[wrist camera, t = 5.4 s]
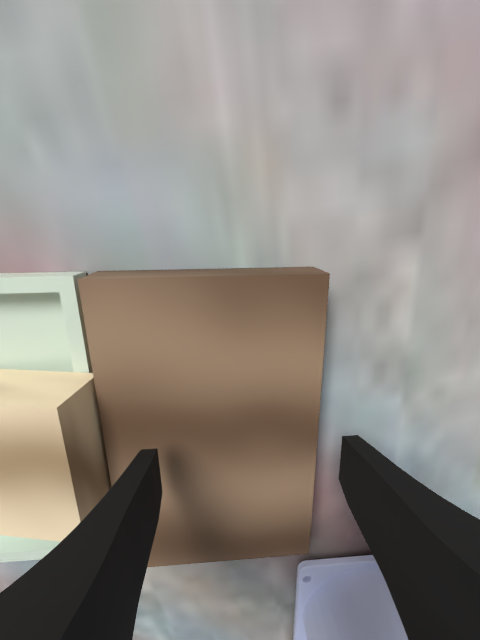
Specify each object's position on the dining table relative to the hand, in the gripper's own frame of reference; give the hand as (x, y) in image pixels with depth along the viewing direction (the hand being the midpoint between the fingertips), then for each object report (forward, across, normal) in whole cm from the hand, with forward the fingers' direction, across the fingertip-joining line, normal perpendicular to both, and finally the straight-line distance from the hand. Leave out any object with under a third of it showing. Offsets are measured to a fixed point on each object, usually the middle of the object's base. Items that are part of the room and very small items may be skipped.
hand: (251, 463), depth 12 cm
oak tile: (+2, +9, 0) cm, 9 cm away
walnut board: (+3, +2, 0) cm, 4 cm away
